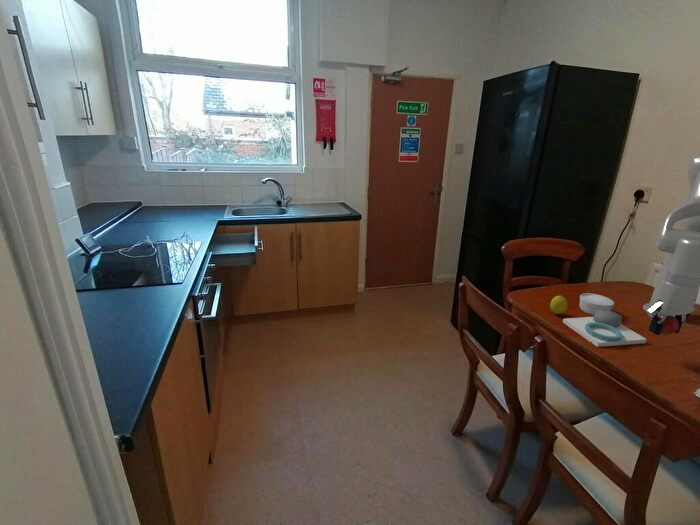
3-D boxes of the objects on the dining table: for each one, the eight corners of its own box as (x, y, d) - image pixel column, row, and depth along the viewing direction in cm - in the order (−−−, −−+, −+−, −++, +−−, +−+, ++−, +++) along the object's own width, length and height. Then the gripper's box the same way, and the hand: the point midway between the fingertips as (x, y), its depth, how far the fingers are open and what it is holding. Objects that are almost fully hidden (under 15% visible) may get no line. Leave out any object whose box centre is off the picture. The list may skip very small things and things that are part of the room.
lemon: (566, 318, 130) (571, 299, 127) (551, 316, 131) (555, 298, 128) (561, 311, 135) (566, 293, 132) (546, 310, 136) (550, 291, 133)
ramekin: (587, 302, 143) (591, 291, 141) (617, 314, 133) (620, 302, 132) (570, 307, 138) (573, 295, 137) (599, 320, 129) (603, 307, 127)
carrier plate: (605, 319, 129) (609, 308, 128) (645, 343, 114) (649, 331, 113) (562, 322, 127) (565, 311, 125) (597, 346, 112) (600, 334, 111)
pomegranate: (645, 330, 109) (652, 308, 106) (661, 328, 110) (670, 307, 107) (662, 340, 104) (670, 317, 101) (679, 339, 104) (688, 316, 101)
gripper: (695, 272, 104) (675, 323, 111) (644, 275, 102) (627, 327, 109) (723, 282, 97) (700, 336, 104) (669, 286, 95) (649, 341, 102)
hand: (663, 331), depth 106 cm, fingers closed on pomegranate, 5 cm apart
